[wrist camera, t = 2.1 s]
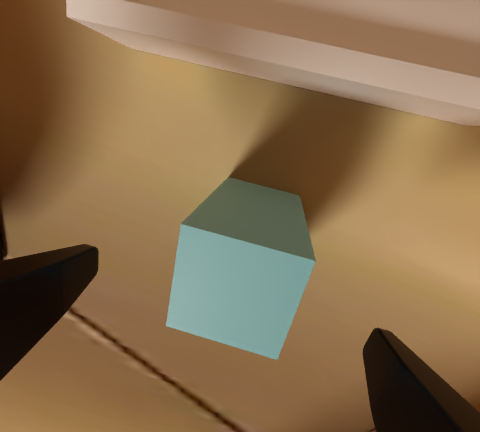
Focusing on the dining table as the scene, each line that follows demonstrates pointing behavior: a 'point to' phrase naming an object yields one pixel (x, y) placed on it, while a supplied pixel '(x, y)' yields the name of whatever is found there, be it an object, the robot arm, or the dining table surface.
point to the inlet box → (317, 45)
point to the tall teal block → (242, 267)
